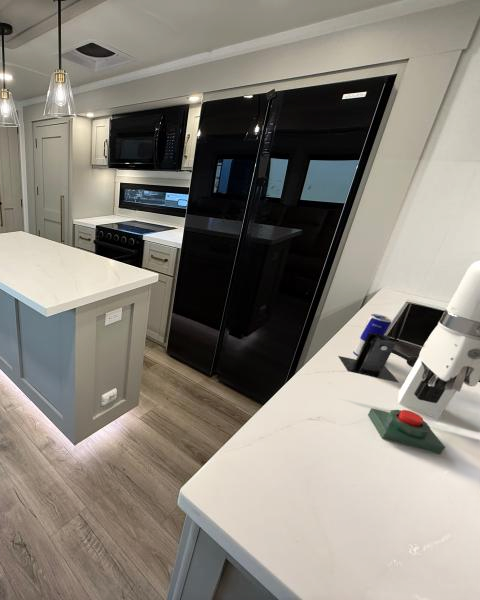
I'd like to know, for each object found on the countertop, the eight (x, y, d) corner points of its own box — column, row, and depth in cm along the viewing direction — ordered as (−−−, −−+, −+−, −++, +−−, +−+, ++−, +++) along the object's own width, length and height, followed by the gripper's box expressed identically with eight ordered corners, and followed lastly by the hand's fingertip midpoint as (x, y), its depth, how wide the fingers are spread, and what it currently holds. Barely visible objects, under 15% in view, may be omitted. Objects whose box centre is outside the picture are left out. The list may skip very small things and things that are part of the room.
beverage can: (358, 361, 98) (378, 319, 92) (348, 352, 103) (366, 312, 97) (375, 363, 98) (397, 321, 92) (365, 354, 102) (384, 314, 96)
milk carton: (397, 394, 84) (432, 333, 77) (434, 408, 80) (475, 345, 72) (396, 406, 79) (433, 343, 72) (436, 422, 75) (479, 356, 67)
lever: (412, 366, 90) (422, 358, 88) (418, 372, 87) (429, 364, 85) (367, 342, 92) (376, 334, 90) (372, 347, 89) (381, 339, 88)
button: (414, 418, 71) (418, 412, 70) (423, 429, 68) (427, 423, 67) (394, 413, 72) (398, 407, 71) (402, 424, 69) (406, 418, 68)
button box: (419, 428, 73) (428, 415, 71) (440, 454, 66) (450, 441, 64) (367, 414, 76) (374, 402, 75) (381, 438, 69) (389, 425, 68)
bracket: (383, 368, 95) (400, 335, 91) (397, 385, 88) (417, 350, 83) (336, 358, 99) (351, 326, 95) (346, 374, 92) (362, 340, 87)
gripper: (529, 347, 52) (472, 429, 59) (469, 313, 65) (427, 383, 72) (469, 338, 55) (421, 417, 62) (422, 306, 67) (387, 375, 75)
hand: (424, 398), depth 67 cm, fingers closed
